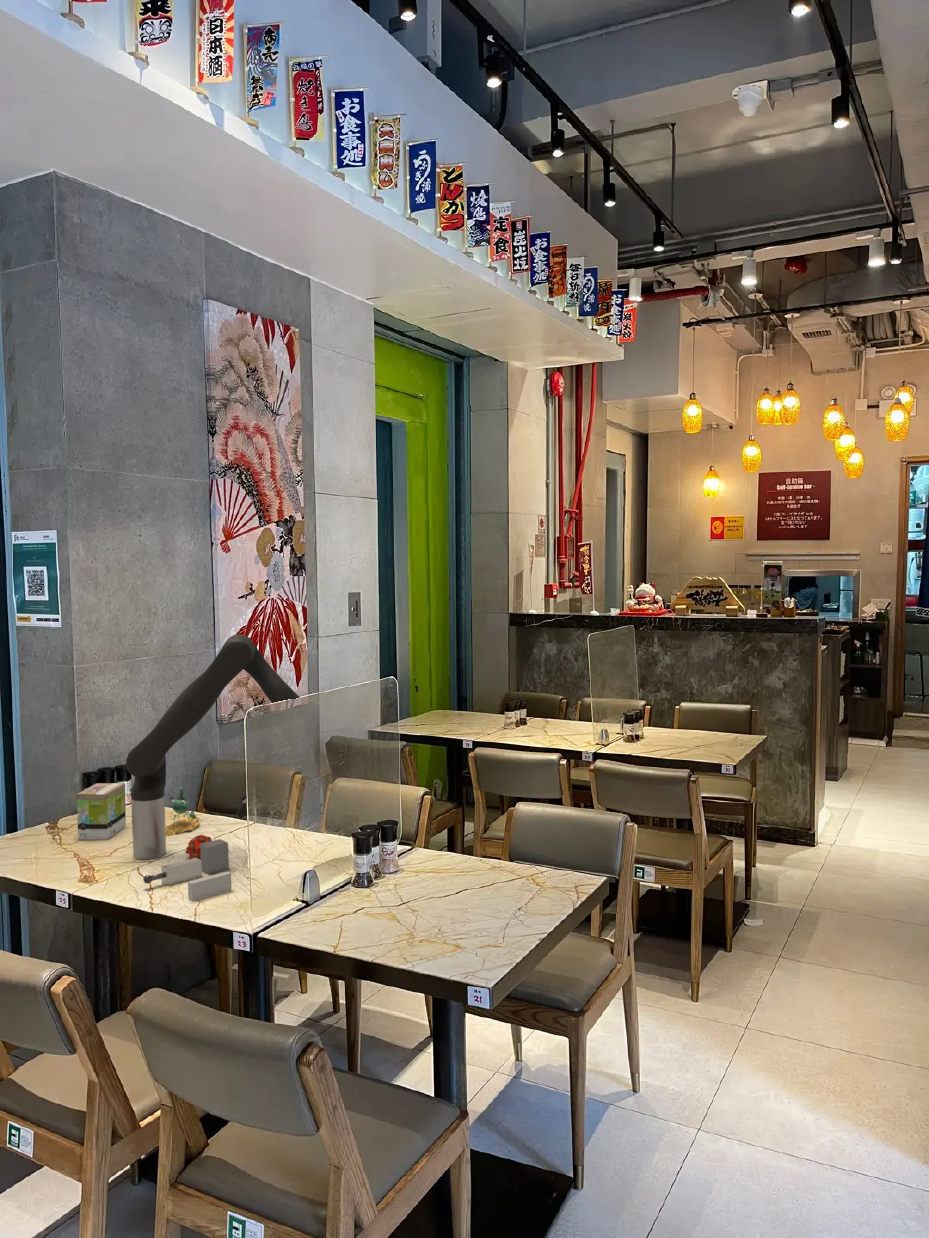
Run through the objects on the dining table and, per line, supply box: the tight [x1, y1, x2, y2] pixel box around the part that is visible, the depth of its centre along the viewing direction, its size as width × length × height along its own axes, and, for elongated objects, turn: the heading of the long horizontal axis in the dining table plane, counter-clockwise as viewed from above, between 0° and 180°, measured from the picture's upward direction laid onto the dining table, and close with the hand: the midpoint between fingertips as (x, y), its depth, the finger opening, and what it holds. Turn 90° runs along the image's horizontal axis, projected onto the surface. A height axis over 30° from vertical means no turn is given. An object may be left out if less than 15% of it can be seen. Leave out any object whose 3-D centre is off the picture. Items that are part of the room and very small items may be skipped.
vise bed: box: [187, 871, 232, 902], centre depth 248 cm, size 22×11×6 cm, turn 43°
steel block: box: [200, 838, 230, 876], centre depth 259 cm, size 4×6×9 cm
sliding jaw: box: [143, 858, 203, 886], centre depth 250 cm, size 3×16×4 cm, turn 133°
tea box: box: [76, 782, 127, 841], centre depth 300 cm, size 15×10×15 cm
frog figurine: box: [165, 786, 200, 837], centre depth 303 cm, size 10×18×15 cm, turn 153°
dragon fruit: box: [184, 834, 213, 860], centre depth 270 cm, size 8×8×12 cm
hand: (246, 819), depth 265 cm, fingers open, 8 cm apart
